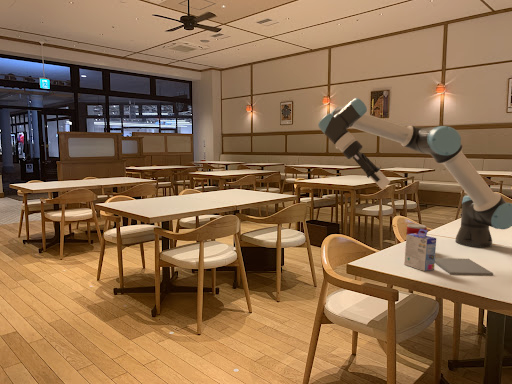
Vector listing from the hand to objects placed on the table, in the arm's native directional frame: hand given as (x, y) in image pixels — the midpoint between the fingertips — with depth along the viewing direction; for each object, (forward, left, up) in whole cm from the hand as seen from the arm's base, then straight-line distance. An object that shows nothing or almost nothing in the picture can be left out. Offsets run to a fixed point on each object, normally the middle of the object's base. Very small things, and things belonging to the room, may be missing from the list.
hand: (386, 185), depth 153 cm
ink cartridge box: (-11, +7, -30) cm, 33 cm away
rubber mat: (-27, +6, -30) cm, 41 cm away
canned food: (-19, -18, -30) cm, 40 cm away
